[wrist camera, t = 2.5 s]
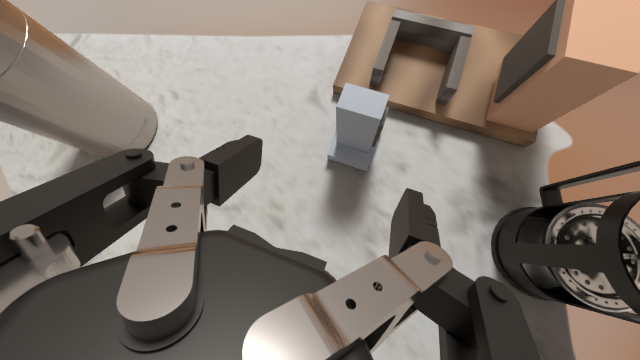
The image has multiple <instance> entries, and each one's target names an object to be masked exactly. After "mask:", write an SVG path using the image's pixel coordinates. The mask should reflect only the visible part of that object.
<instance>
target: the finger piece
mask: <svg viewBox="0 0 640 360" xmlns="http://www.w3.org/2000/svg"><path fill="white" fill-rule="evenodd" d="M388 98H389V94H385V93H381V92H378V91H374V90H370V89H367V88H363V87H360V86H356V85H352V84H349V83H345V86H344V88H343V91H342V93H341V96H340V98H339V101H338V103H337V106H336V134H335V136H334V139H333V142H332V144H331V147H330V149H329V152H328V159H330V160H333V161H336V162H339V163H342V164H345V165H348V166H351V167H354V168H357V169H360V170H363V171H366V172H367V170H368V168H369V165H370V162H371V159H372V156H373V153H374V150H375V147H376V144H377V141H378V138H379V136H380V133H381V131H382V128H383V126H384V123H385V120H386V117H387V114H388V111H389V108H388V107H386V104H387V101H388Z"/></svg>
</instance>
